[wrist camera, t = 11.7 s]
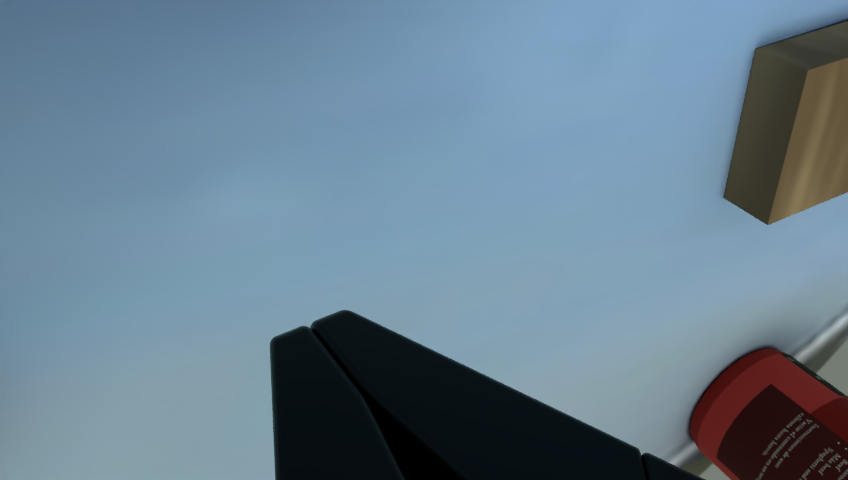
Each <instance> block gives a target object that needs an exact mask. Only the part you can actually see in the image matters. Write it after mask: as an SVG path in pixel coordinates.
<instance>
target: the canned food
mask: <svg viewBox="0 0 848 480" xmlns="http://www.w3.org/2000/svg"><path fill="white" fill-rule="evenodd" d="M690 433H691V436H692V438H693V440H694V442H695V443H696V445H697V447H698V448H699V450H700V451H701V452H702V453H703V454H704V455H705V456H706V457H707V458H708V459H709V460H710V461H711V462H712V463H713V464H714V465H716V466H717V467H718V468H719V469H720V470H721V471H722V472H723V473H724V474H725V475H726V476H727V477H728V478H729V479H731V480H848V396H846V395H845V394H844V393H842V392H841V391H839V390H838V389H837V388H835V387H834V386H832V385H831V384H830V383H828V382H827V381H825V380H824V379H822V378H821V377H820V376H818V375H817V374H816V373H814V372H813V371H811V370H810V369H809V368H807V367H806V366H804V365H803V364H802V363H800V362H799V361H797V360H796V359H795V358H793V357H792V356H790V355H788V354H785V353H783V352H780V351H777V350H774V349H762V350H758V351H755V352H752V353H750V354H748V355H746V356H744V357H742V358H741V359H739V360H738V361H736V362H735V363H734V364H732V365H731V366H730V367H728V368H727V369H726V370H725V371H724V372H723V373H722V374H721V375H720V376H719V377H718V378H717V379H716V380H715V381H714V382H713V383H712V384H711V386H710V387H709V388H708V389H707V390H706V392H705V393H704V395H703V396H702V398H701V399H700V401H699V403H698V405H697V407H696V408H695V410H694V413H693V416H692V419H691V425H690Z"/></svg>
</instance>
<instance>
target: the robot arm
mask: <svg viewBox="0 0 848 480" xmlns="http://www.w3.org/2000/svg"><path fill="white" fill-rule="evenodd" d="M270 361H271V385H272V409H273V432H274V456H275V480H705V479H703V478H701V477H698V476H696V475H694V474H692V473H689V472H687V471H685V470H683V469H681V468H679V467H677V466H675V465H672V464H670V463H668V462H666V461H664V460H662V459H660V458H658V457H656V456H654V455H652V454H649V453H644V454H642V456H641V453H640V451H639V449H638V448H636V447H634V446H632V445H630V444H628V443H626V442H624V441H622V440H619V439H617V438H615V437H613V436H611V435H609V434H607V433H605V432H603V431H601V430H599V429H596V428H594V427H592V426H590V425H588V424H586V423H584V422H582V421H580V420H578V419H576V418H573V417H571V416H569V415H567V414H565V413H563V412H561V411H559V410H557V409H555V408H553V407H550V406H548V405H546V404H544V403H542V402H540V401H538V400H536V399H534V398H532V397H530V396H527V395H525V394H523V393H521V392H519V391H517V390H515V389H513V388H511V387H509V386H507V385H504V384H502V383H500V382H498V381H496V380H494V379H492V378H490V377H488V376H486V375H484V374H481V373H479V372H477V371H475V370H473V369H471V368H469V367H467V366H465V365H463V364H461V363H458V362H456V361H454V360H452V359H450V358H448V357H446V356H444V355H442V354H440V353H438V352H435V351H433V350H431V349H429V348H427V347H425V346H423V345H421V344H419V343H417V342H415V341H412V340H410V339H408V338H406V337H404V336H402V335H400V334H398V333H396V332H394V331H392V330H389V329H387V328H385V327H383V326H381V325H379V324H377V323H375V322H373V321H371V320H369V319H366V318H364V317H362V316H360V315H358V314H356V313H354V312H352V311H348V310H342V311H339V312H336V313H334V314H331V315H329V316H326V317H324V318H321V319H318V320H316V321H314V322H313V323H312V325H311V326H310V328H309V327H307V326H301V327H298V328H296V329H293V330H291V331H288V332H286V333H283V334H281V335H278V336H276V337H274V338H273V339H272V340H271V342H270Z"/></svg>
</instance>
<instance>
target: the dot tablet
mask: <svg viewBox="0 0 848 480" xmlns="http://www.w3.org/2000/svg"><path fill="white" fill-rule="evenodd" d="M847 192H848V21H846V22H843V23H839V24H836V25H833V26H830V27H826V28H823V29H820V30H816V31H813V32H810V33H806V34H803V35H800V36H797V37H793V38H790V39H787V40H783V41H780V42H777V43H773V44H770V45H767V46H764V47H760V48H757V49H755V53H754V58H753V63H752V67H751V72H750V77H749V81H748V86H747V91H746V95H745V100H744V105H743V110H742V114H741V119H740V124H739V128H738V133H737V138H736V142H735V147H734V152H733V156H732V161H731V166H730V170H729V175H728V180H727V185H726V189H725V194H724V198H725V199H726V200H728V201H730V202H731V203H733V204H735V205H736V206H738V207H739V208H741V209H743V210H744V211H746V212H747V213H749V214H751V215H752V216H754V217H755V218H757V219H759V220H760V221H762V222H764V223H765V224H767V225H769V224H771V223H774V222H776V221H779V220H781V219H784V218H786V217H788V216H791V215H793V214H796V213H798V212H800V211H803V210H805V209H808V208H810V207H813V206H815V205H817V204H820V203H822V202H825V201H827V200H830V199H832V198H834V197H837V196H839V195H842V194H844V193H847Z"/></svg>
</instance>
